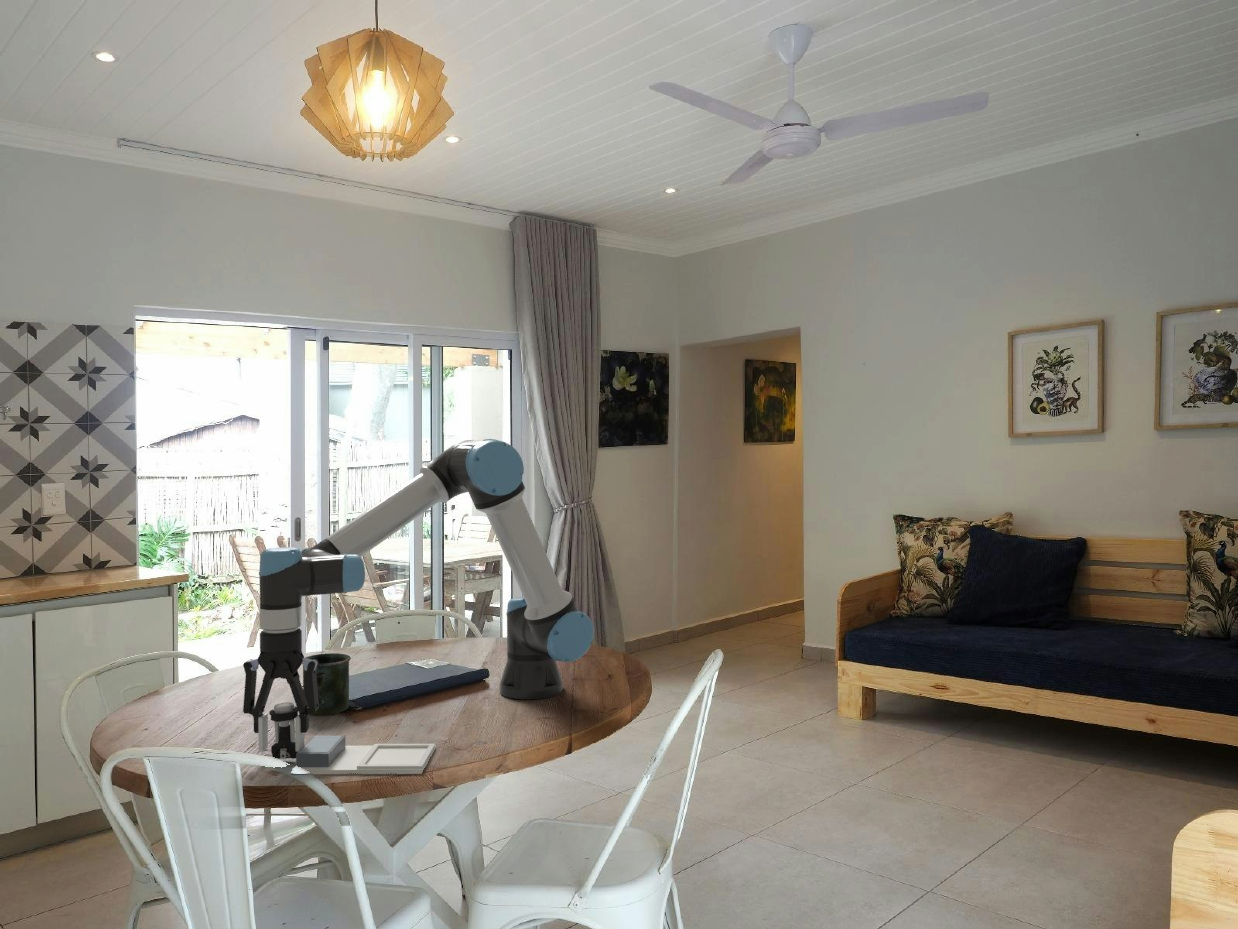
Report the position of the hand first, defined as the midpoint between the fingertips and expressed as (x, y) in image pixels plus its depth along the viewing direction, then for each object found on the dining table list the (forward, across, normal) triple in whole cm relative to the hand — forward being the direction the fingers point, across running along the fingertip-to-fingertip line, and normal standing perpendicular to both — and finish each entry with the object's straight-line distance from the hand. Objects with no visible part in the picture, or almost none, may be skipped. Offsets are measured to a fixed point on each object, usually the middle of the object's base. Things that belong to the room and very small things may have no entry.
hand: (281, 749), depth 175 cm
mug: (+3, +2, -33) cm, 33 cm away
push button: (+2, 0, 0) cm, 2 cm away
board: (+2, -16, 0) cm, 16 cm away
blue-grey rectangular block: (+2, -8, 0) cm, 8 cm away
